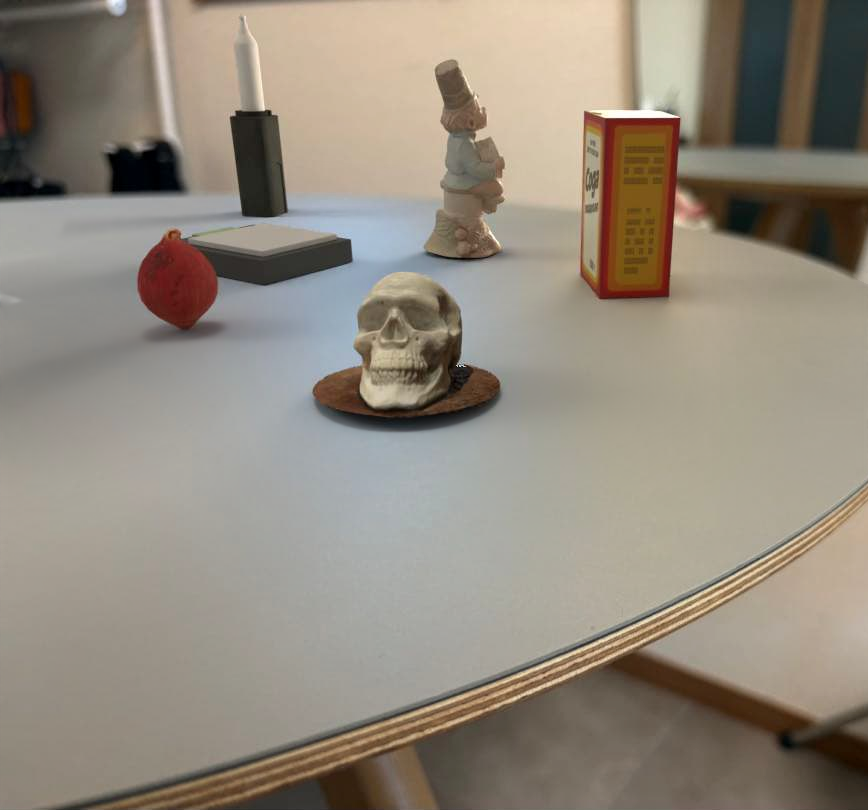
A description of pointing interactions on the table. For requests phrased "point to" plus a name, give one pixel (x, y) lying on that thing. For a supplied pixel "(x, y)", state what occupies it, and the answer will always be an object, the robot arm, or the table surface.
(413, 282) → the skull
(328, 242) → the scale
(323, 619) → the table surface
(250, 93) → the candle
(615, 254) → the baking soda box
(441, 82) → the figurine
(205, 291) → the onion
